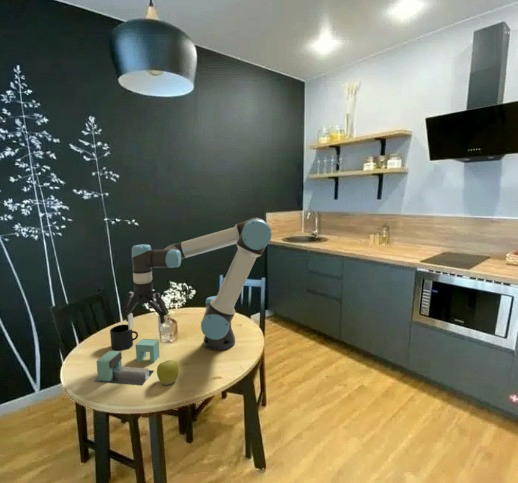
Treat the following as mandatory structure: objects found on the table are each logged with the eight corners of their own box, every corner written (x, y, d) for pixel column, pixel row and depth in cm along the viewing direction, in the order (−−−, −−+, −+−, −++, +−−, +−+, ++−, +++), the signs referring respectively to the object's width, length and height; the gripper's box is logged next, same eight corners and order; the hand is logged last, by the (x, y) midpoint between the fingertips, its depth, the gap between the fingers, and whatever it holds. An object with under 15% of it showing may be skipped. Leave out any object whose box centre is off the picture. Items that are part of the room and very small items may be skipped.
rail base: (154, 371, 126) (153, 363, 125) (142, 386, 116) (141, 377, 116) (108, 368, 128) (108, 360, 128) (93, 382, 119) (92, 374, 118)
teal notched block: (123, 369, 126) (121, 351, 125) (111, 381, 119) (110, 361, 117) (110, 369, 127) (109, 350, 126) (98, 380, 119) (96, 361, 118)
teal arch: (154, 363, 132) (153, 345, 131) (136, 362, 133) (135, 344, 132) (160, 356, 138) (159, 339, 136) (143, 355, 139) (142, 338, 137)
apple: (182, 382, 116) (172, 360, 114) (161, 391, 115) (151, 368, 113) (182, 371, 124) (173, 349, 122) (163, 379, 123) (153, 357, 121)
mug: (138, 348, 145) (136, 330, 144) (109, 352, 141) (108, 334, 140) (139, 340, 154) (138, 322, 153) (113, 343, 150) (111, 325, 149)
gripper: (175, 280, 132) (177, 327, 135) (120, 278, 135) (123, 324, 138) (167, 285, 125) (169, 334, 128) (110, 282, 128) (113, 331, 131)
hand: (145, 329), depth 133 cm, fingers open, 13 cm apart
